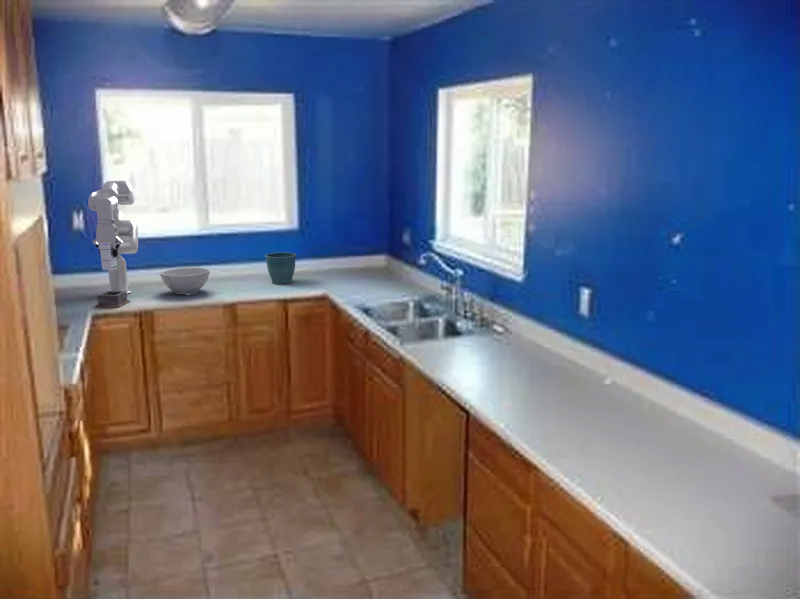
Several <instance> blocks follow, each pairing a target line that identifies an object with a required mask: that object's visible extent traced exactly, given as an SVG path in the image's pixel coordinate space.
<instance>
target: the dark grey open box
mask: <svg viewBox="0 0 800 599" xmlns="http://www.w3.org/2000/svg"><path fill="white" fill-rule="evenodd" d="M127 296H128V294H127V292H126V291H109V290H105V291H104V292H101V293H99V294H97V304H95V307H96V306H99V307H98V308H116V309H117V308H121V307H123V306H125V305H127V304H129V303H130V302H131V299H128V297H127Z"/></svg>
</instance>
